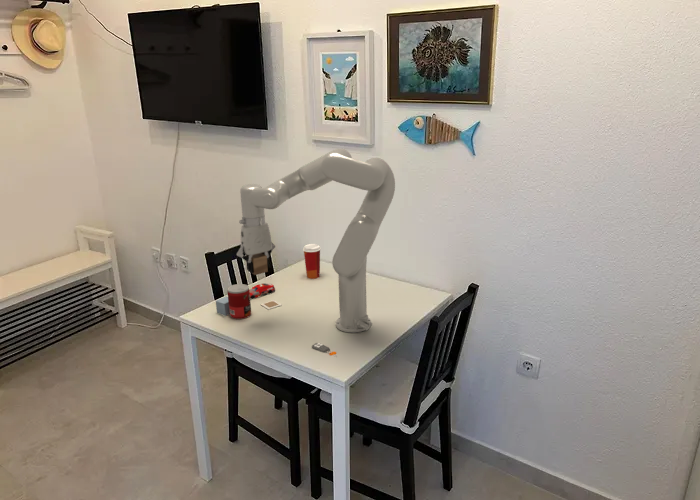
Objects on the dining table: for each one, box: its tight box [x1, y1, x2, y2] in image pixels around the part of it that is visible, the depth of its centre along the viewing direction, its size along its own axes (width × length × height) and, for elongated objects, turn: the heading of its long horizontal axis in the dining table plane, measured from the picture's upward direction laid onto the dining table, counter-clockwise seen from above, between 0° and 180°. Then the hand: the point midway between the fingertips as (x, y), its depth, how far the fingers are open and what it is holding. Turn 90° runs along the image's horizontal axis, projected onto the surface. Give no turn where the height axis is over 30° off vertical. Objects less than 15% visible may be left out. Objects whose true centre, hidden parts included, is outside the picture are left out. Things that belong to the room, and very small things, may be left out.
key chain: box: [311, 342, 338, 358], centre depth 173 cm, size 13×4×2 cm, turn 50°
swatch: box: [260, 299, 282, 310], centre depth 208 cm, size 6×6×1 cm
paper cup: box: [302, 243, 322, 280], centre depth 233 cm, size 8×8×14 cm
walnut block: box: [251, 253, 269, 276], centre depth 190 cm, size 5×5×6 cm
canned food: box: [226, 283, 252, 320], centre depth 199 cm, size 8×8×11 cm
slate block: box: [215, 295, 230, 317], centre depth 203 cm, size 5×5×5 cm
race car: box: [249, 282, 276, 300], centre depth 218 cm, size 13×5×4 cm, turn 126°
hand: (257, 269), depth 190 cm, fingers closed on walnut block, 5 cm apart
